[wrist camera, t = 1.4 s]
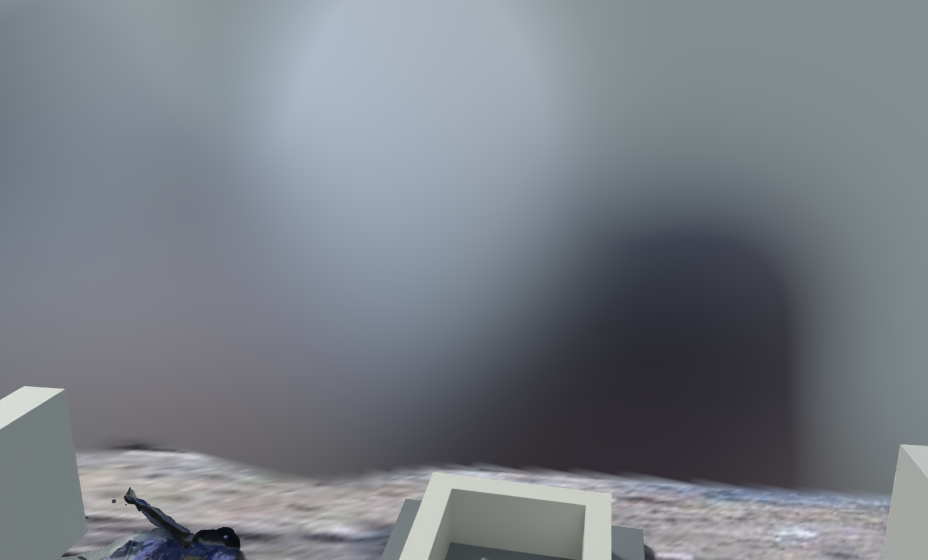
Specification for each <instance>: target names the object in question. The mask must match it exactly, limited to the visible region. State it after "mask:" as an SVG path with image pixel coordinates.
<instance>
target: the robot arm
mask: <svg viewBox="0 0 928 560" xmlns="http://www.w3.org/2000/svg"><path fill="white" fill-rule="evenodd" d="M86 533H87V526H86V519H85V513H84V507H83V500H82V494H81V488H80V481H79V475H78V469H77V462H76V456H75V450H74V443H73V437H72V431H71V424H70V418H69V412H68V405H67V399H66V393H65V389H56V388H41V387H25V386H24V387H22V388H20V389H19V390H17V391H15V392H13V393H12V394H10V395H8V396H7V397H5V398H3V399H1V400H0V560H58V559H59V558H60V557H61V556H62V555H63V554H64V553H65V552H66V551H67V550H68V549H69V548H71V547H72V546H73V545H74V544H75V543H76V542H77V541H78V540H79V539H80V538H81V537H82V536H83V535H85V534H86ZM881 560H928V446H917V445H902V444H901V445H900V451H899V456H898V462H897V468H896V474H895V480H894V486H893V492H892V498H891V504H890V510H889V516H888V522H887V528H886V534H885V540H884V547H883V553H882V559H881Z"/></svg>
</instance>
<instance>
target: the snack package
mask: <svg viewBox="0 0 928 560" xmlns="http://www.w3.org/2000/svg"><path fill="white" fill-rule="evenodd" d="M124 499H125V501H126V502H127V503H128V504H134V505H136V507H137V509H138V511H142V513H143V514H144V515H145V516H146V517H147V518H148V520H149V521H150V522H151V523H153V524H154V525H156V526H157V527H159V528H155V529H153V530H152V531H149V530H145V531H140V532H139V531H135V532H133V533H131V534H128V535H126V536H125V537H122V538H121V539H117V540H115V541H113V543H111V544H110V545H108V546H105V547H104V548H101V549H99V550H95V551H93V552H92V551H89V552H87V553H81V554H78V555H76V556H70V557H60V558H59V559H58V560H237V557H238V553H239V549H240V539H239V537H238V536H237V535H236V534H235V533H234V530H233V529H231V528H229V527H222V528H218V529H217V530H214V529H211V530H200V531H199V532H197V533H196V534H195V535H194V534H193V533H190V530H188V529H186V528H184V527H182V526H181V525H179V524H178V523H176V522H175V520H173V519H172V518H171V517H170V516H167V515H165V514H164V513H163V512H162V511H161V510H160V509H158V508H155V507H151V506H150V504H148V503H147V502H145V501H144V500H142V499H138V498H136V495H135V493H134V491H133V490H132V489H131V487H129V490H128V492H127V493H126V495H125V496H124ZM115 502H116V500H114V499H113V500H112V503H115ZM125 505H127V504H125ZM85 518H88V517H87V516H86V517H85Z"/></svg>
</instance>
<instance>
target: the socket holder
mask: <svg viewBox="0 0 928 560" xmlns="http://www.w3.org/2000/svg"><path fill="white" fill-rule="evenodd" d="M482 558H486V559H489V560H645V556H644V540H643V530H642V529H634V528H627V527H619V526H611V494H607V493H599V492H591V491H583V490H575V489H567V488H558V487H550V486H542V485H534V484H526V483H518V482H510V481H502V480H494V479H486V478H477V477H469V476H461V475H453V474H445V473H437V472H433V474H432V476H431V479H430V482H429V484H428V487H427V489H426V492H425V494H424V497H423V500H422V501H419V500H411V499H406V500H405V502H404V505H403V507H402V509H401V512H400V514H399V516H398V519H397V521H396V523H395V526H394V528H393V530H392V533H391V535H390V538H389V540H388V542H387V545H386V547H385V549H384V552H383V554H382V556H381V559H380V560H481V559H482Z"/></svg>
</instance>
